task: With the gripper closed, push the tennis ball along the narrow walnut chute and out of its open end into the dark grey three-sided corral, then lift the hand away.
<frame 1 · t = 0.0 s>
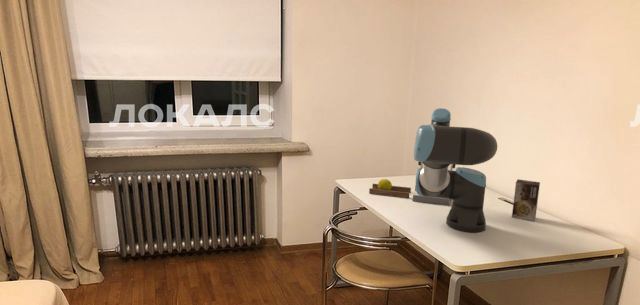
hand: (436, 170, 187), 15 cm above the table, tool tilted 35°, fingers open, 13 cm apart
chute: (390, 192, 201), on the table
tennis ball: (384, 192, 202), on the table
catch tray: (430, 197, 195), on the table
coffee box: (523, 217, 170), on the table
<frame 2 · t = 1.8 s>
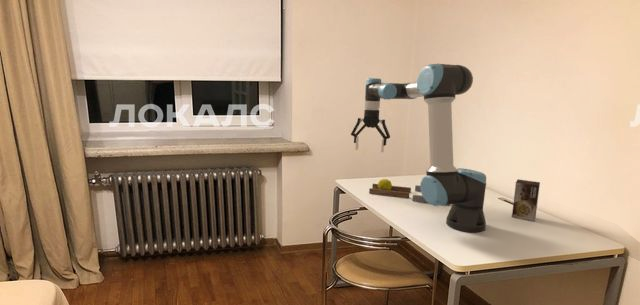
hand: (369, 150, 200), 21 cm above the table, tool pointing down, fingers open, 13 cm apart
nothing on the table moved.
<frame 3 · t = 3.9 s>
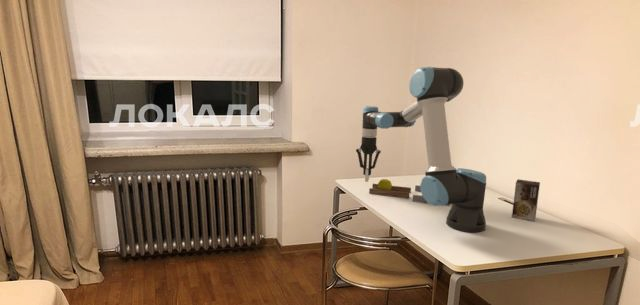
hand: (366, 180, 203), 5 cm above the table, tool pointing down, fingers closed
nothing on the table moved.
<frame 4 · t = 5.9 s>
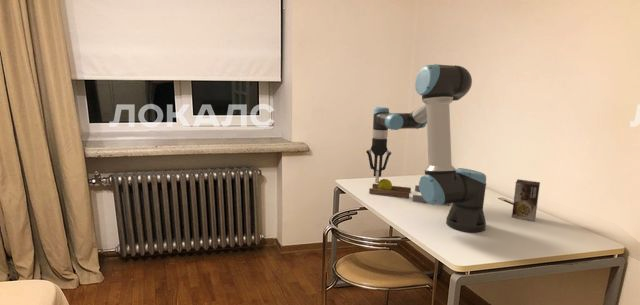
hand: (377, 182, 202), 5 cm above the table, tool pointing down, fingers closed
tennis ball: (384, 192, 201), on the table, touching gripper
everything else where it was.
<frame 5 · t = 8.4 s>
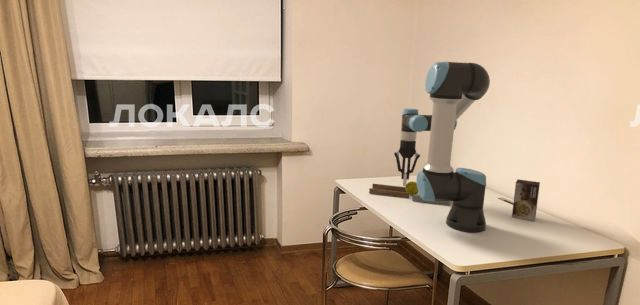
hand: (404, 185, 198), 5 cm above the table, tool pointing down, fingers closed
tennis ball: (411, 195, 198), on the table, touching gripper
everything else where it was.
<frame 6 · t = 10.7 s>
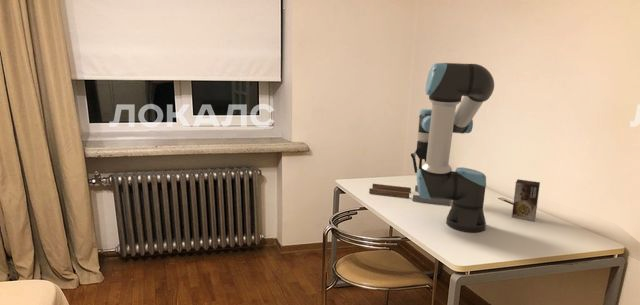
hand: (421, 186, 195), 5 cm above the table, tool pointing down, fingers closed
tennis ball: (428, 197, 196), on the table, touching gripper
everything else where it was.
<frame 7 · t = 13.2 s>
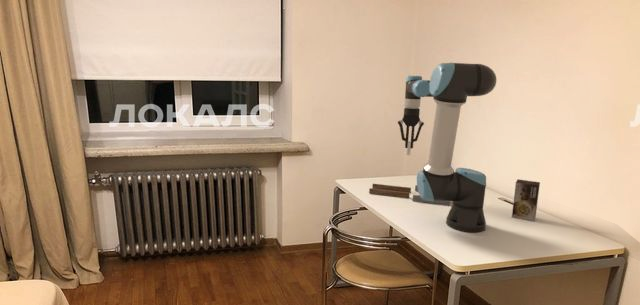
hand: (408, 154, 195), 21 cm above the table, tool pointing down, fingers closed
tennis ball: (428, 197, 196), on the table
everything else where it was.
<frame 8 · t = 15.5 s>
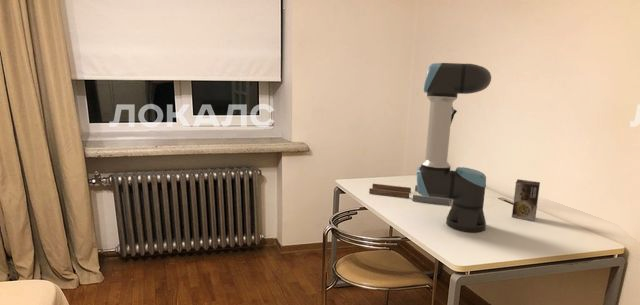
hand: (441, 140, 206), 26 cm above the table, tool pointing down, fingers closed
nothing on the table moved.
at the end: tennis ball inside the target area on the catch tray (1.2 cm from its centre), point 0.0 cm above the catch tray's base; tennis ball moved 22.3 cm from its start; the gripper is holding nothing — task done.
